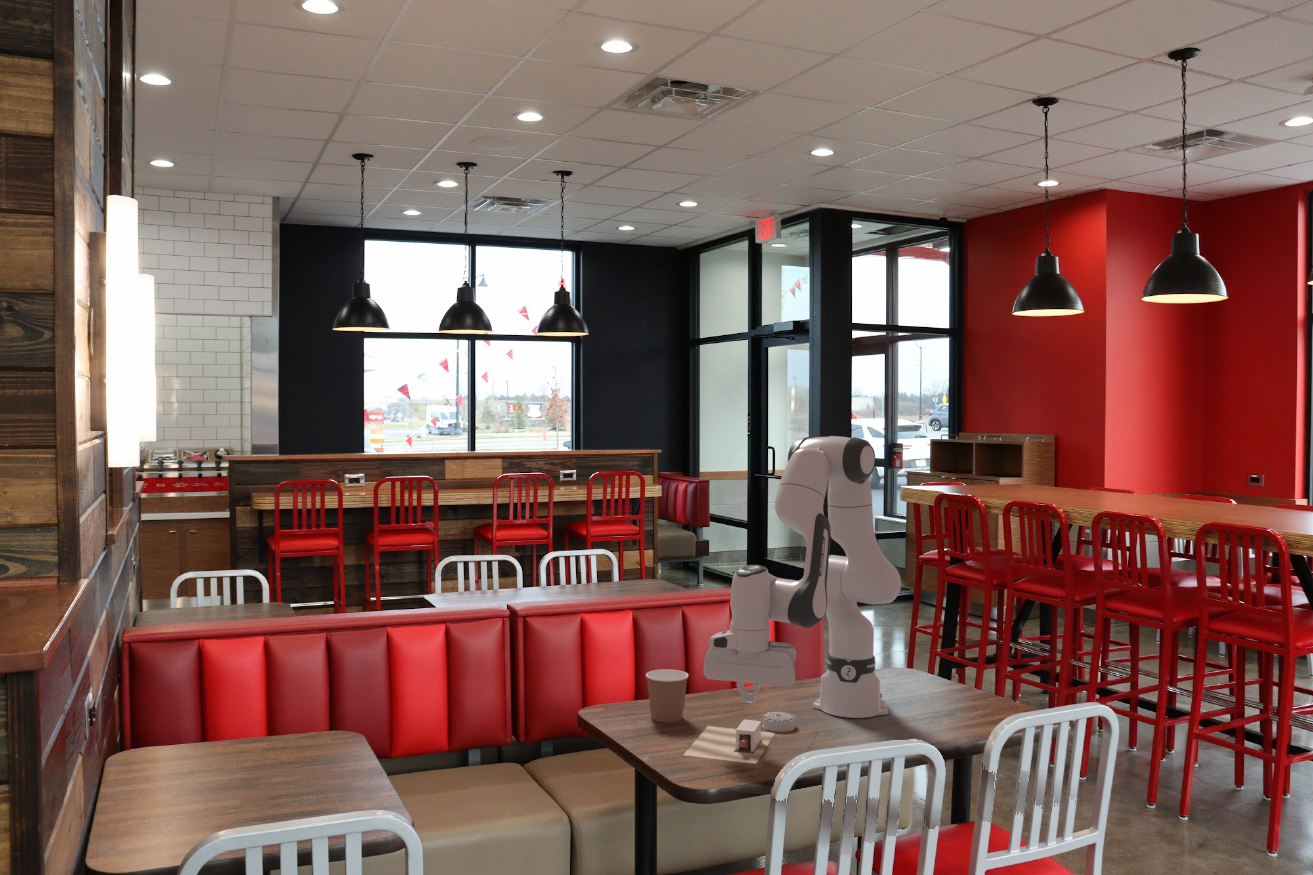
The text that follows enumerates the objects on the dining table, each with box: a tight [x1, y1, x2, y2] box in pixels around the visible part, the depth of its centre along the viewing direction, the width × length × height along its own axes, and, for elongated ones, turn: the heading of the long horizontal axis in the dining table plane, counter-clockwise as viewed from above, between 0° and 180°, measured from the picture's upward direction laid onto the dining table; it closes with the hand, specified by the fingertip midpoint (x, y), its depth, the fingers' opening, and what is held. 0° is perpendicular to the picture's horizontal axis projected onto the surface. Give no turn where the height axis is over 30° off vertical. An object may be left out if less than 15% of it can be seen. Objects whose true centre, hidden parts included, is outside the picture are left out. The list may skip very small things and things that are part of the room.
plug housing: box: [735, 719, 762, 752], centre depth 225 cm, size 11×4×4 cm, turn 163°
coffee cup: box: [645, 668, 689, 724], centre depth 247 cm, size 10×10×12 cm
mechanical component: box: [761, 711, 796, 733], centre depth 241 cm, size 10×4×10 cm
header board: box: [682, 725, 776, 765], centre depth 228 cm, size 22×16×4 cm
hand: (748, 701), depth 227 cm, fingers closed
